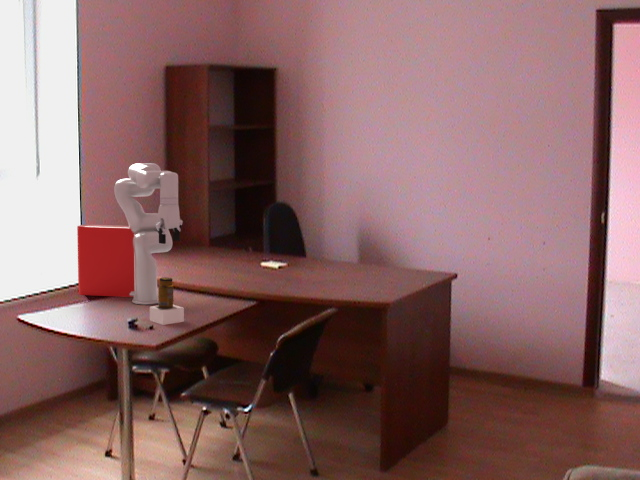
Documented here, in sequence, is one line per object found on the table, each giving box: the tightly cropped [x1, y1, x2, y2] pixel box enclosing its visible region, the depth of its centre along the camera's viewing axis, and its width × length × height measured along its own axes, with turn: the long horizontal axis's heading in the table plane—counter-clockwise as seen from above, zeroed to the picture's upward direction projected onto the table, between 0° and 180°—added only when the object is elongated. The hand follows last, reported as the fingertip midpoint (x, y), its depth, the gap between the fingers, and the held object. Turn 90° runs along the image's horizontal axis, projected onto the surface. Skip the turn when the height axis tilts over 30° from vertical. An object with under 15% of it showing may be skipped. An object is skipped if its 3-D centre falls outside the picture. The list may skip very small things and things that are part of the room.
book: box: [76, 224, 136, 298], centre depth 426 cm, size 27×8×32 cm, turn 84°
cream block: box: [149, 304, 185, 326], centre depth 375 cm, size 10×10×6 cm
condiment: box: [155, 276, 177, 310], centre depth 373 cm, size 7×8×12 cm
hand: (169, 242), depth 387 cm, fingers open, 9 cm apart
